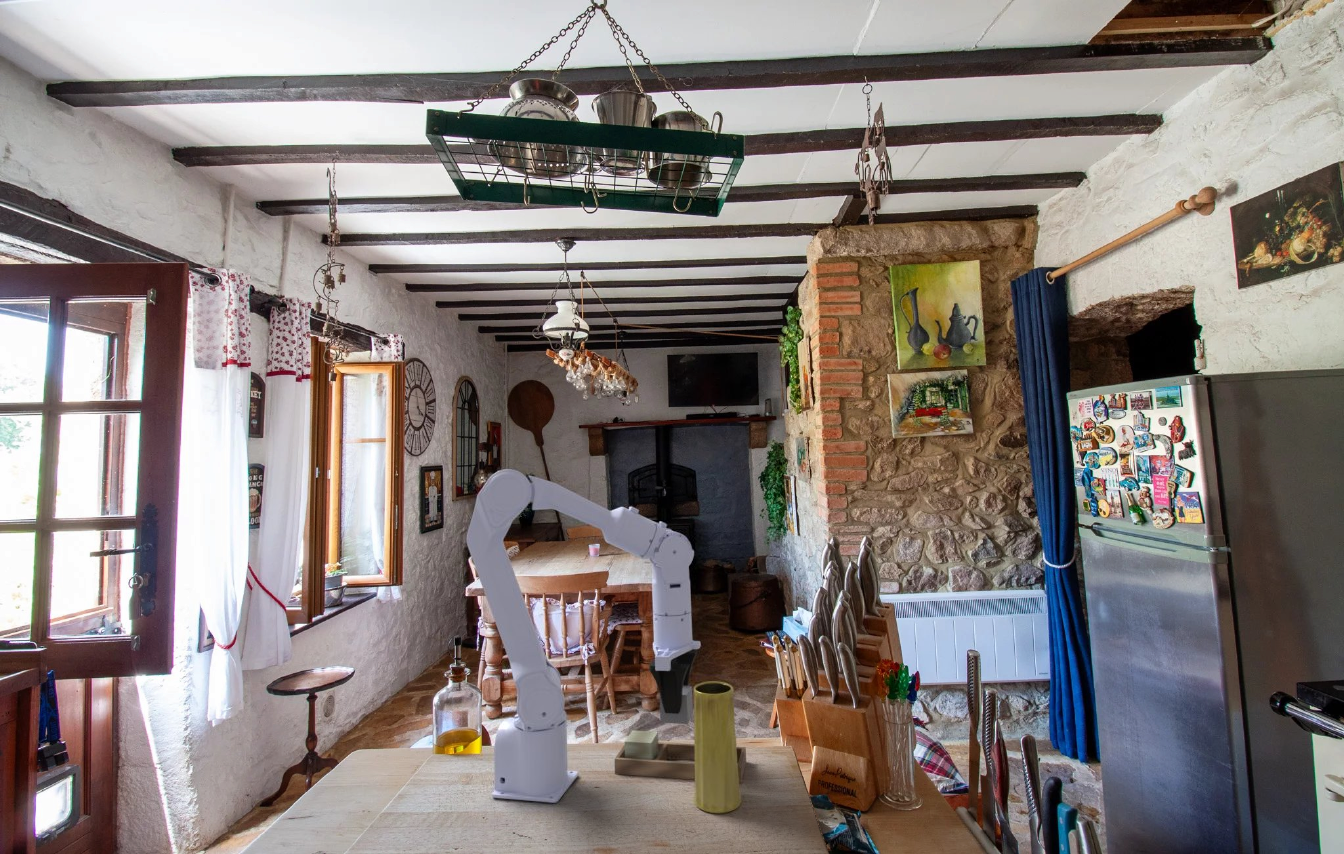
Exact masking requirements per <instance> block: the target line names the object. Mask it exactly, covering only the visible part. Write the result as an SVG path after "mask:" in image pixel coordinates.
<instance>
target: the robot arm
mask: <svg viewBox="0 0 1344 854" xmlns="http://www.w3.org/2000/svg"><path fill="white" fill-rule="evenodd" d="M528 478H529V479H528ZM529 480H530V481H531V482H530V481H529ZM529 503H532V505H531V509H532V511H538V510H539V511H540V510H556V511H557V512H560V513H561V514H565V515H567V516H569V517H571V518H573V519H576V520H578V521H580V522H583V523H584V524H587V525H590V526H592V527H594V528H597V529H599V530H601V532H602V535H603V538H604V541H605V542H606V543H607V544H609V545H611V546H613V547H615V548H618V549H620V550H623V551H624V552H627V553H629V554H631V555H633V556H635V557H638V558H640V559H642V560H647V559H648V560H649V561H650V563H651V564H652V566H651V567H652V568H651V569H652V581H651V595H652V623H653V624H652V625H653V627H652V628H653V642H652V650H653V652H654V660H651V661H650V662H649V664H648V669H649V672H650V673H651V675H652V677H653V678H654V681H655V683H656V686H657V688H658V692H659V697H660V696H661V700H662V704H663V708H664V711H665V713H672V714H679V712H680V708H681V702H682V691H683V685H685V686H690V678H691V673H692V668H693V663H694V661H695V658H696V656H697V654H698V650H699V649H700V648H701V641H700V640H694V639H693V626H692V625H693V623H692V622H693V621H692V601H691V600H692V599H691V597H692V596H691V579H690V569H689V566H690V565H691V564H692V561H693V559H694V556H695V551H694V549H693V547H692V544H691V541H689V539H688V538H687V536H686V535H684V534H682V533H680V532H677V531H673V530H672V529H671V528H667V526H668V524H667V523H665V522H663V521H659V522H656V521H653V520H651V519H650V518H647V517H645V516H643V515H641V514H639V512H640V510H639V508H638V509H637V508H636V507H634V506H629V507H628V508H626V507H624V506H620V507H617V508H615V509H612V510H609V509H607V508H606V507H603V506H601V505H599V504H597V503H596V502H593V501H591V500H589V499H587V498H586V497H583V496H582V495H580V494H577V493H575V492H573V491H571V490H569V489H567V488H565V487H564V486H562V485H560V484H558V483H556V482H552V481H550V480H545V479H543V478H540V477H536V476H532V475H528V477H527V476H526V475H525V474H523V473H522V472H520V471H518V470H516V469H510V468H509V469H508V468H507V469H501V470H498V471H496V472H495V473H493V474H492V475H491V476H490V477H488V479H487V481H486V482H485V484H484V485H483V487H482V488H481V489H480V491H479V492H478V493H477V496H476V501H475V504H474V510H473V513H472V516H471V520H470V523H469V527H468V530H467V535H466V545H467V547H468V551H469V554H470V556H471V559H472V561H473V565H474V568H475V570H476V573H477V575H478V579H479V581H480V583H481V586H482V589H483V593H484V596H485V597H486V601H487V603H488V606H489V609H490V611H491V614H492V617H493V620H494V623H495V625H496V627H497V631H498V633H499V636H500V638H501V642H502V645H503V648H504V650H505V653H506V655H507V658H508V661H509V665H510V669H511V674H512V677H513V682H514V685H515V688H516V692H517V697H516V698H517V699H516V705H515V707H516V714H515V715H514V717H507V718H505V719H504V720H503V721H502V722H501V723H500V725H499V727H498V729H497V731H496V735H495V740H494V752H493V754H494V755H493V756H494V759H493V760H494V763H493V764H494V765H493V766H494V767H493V768H494V772H493V773H494V791H493V792H492V793H491V797H492V798H494V799H495V798H497V799H505V800H506V799H508V800H518V801H529V802H530V801H532V802H542V803H553V804H555V803H558V802H559V800H560V799H561V798H562V796H563V795H564V794H565V792H566V791H567V790H568V789H569V787H570V786H571V785H572V783H574V781H575V780H576V778H577V777H578V776H579V771H577V770H568V768H569V766H568V727H567V726H568V724H567V722H568V721H567V715H568V714H567V712H566V711H565V710H564V709H565V704H566V703H565V701H566V699H565V695H564V692H563V690H562V677H561V674H560V672H559V670H558V669H557V667H555V666H554V665H553V664H552V663H551V662H550V661H549V660H548V658H547V655H546V653H545V650H544V649H543V646H542V644H541V641H540V639H539V637H538V634H537V631H536V629H535V626H534V623H533V620H532V618H531V615H530V612H529V609H528V607H527V604H526V601H525V598H524V596H523V593H522V589H521V587H520V584H519V582H518V581H519V580H518V579H517V576H516V574H515V571H514V570H515V569H514V567H513V564H512V562H511V560H510V557H509V553H508V552H507V548H506V546H505V543H504V538H505V537H506V535H507V534H508V531H509V529H510V528H511V525H512V523H513V521H514V520H515V519H516V518H517V517H518V516H519V515H521V513H522V512H523V511H524V510H525V509H526V508H527V506H528V505H529Z"/></svg>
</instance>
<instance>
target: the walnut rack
mask: <svg viewBox="0 0 1344 854" xmlns="http://www.w3.org/2000/svg"><path fill="white" fill-rule="evenodd" d="M735 738H736V739H737V736H736V735H735ZM736 751H737V762H738V763H737V764H738V776H739V784H740V783H741V784H742V783H743V778H744V773H745V770H746V765H747V748H746V747H745V746H744V747H743V746H742V747H741V746H736ZM617 753H618V754H617V755H616V756H615V757H614V774H615V775H628V776H629V775H631V776H642V777H645V776H646V777H656V778H671V779H684V780H695V762H689V761H687V762H686V761H673V760H668V759H679V760H692V761H693V760H694V761H695V744H693V743H679V742H678V743H677V742H663V741H662V742H660V741H659V731H650V730H633V729H632V730H631V731H630V733H629V734H628V736H627V737H626V739H625V740H624V745H623V746H622V747H621V749H620V751H618V752H617ZM744 769H745V770H744Z"/></svg>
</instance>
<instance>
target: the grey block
mask: <svg viewBox="0 0 1344 854" xmlns="http://www.w3.org/2000/svg"><path fill="white" fill-rule="evenodd" d="M659 713H660V723H661V724H662V723H663V724H682V725H689V722H690V721H691V719H692V716H693V715H694V700H693V686H692V685H689V686H685V685H683V691H682V702H681V708H680V712H679V714H672V713H665V711H664V708H663V704H662V700H661V696H660V695H659Z"/></svg>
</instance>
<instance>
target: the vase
mask: <svg viewBox="0 0 1344 854" xmlns="http://www.w3.org/2000/svg"><path fill="white" fill-rule="evenodd" d="M734 696H735V695H734V687H733V685H731V684H730V683H727V682H723V681H718V680H717V681H716V680H714V681H704V682H700V683H697V684H695V685H694V687H693V690H692V697H693V716H694V717H693V718H694V719H693V724H694V725H693V726H694V728H693V729H694V734H693V735H694V739H693V740H694V741H693V742H694V744H695V760H694V763H695V779H694V798H693V799H694V800H693V801H694V804H695V806H696V807H697V808H698V809H700V810H701V811H704V812H707V813H710V814H711V813H712V814H726V813H727V814H728V813H729V812H733V811H735V810H736V809H737V808H739V807H740V806H741V803H742V794H741V789H740V783H739V776H738V763H737V751H736V747H737V737H736V738H735V736H736V724H735V720H736V719H735V701H734V700H735V699H734Z"/></svg>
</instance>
